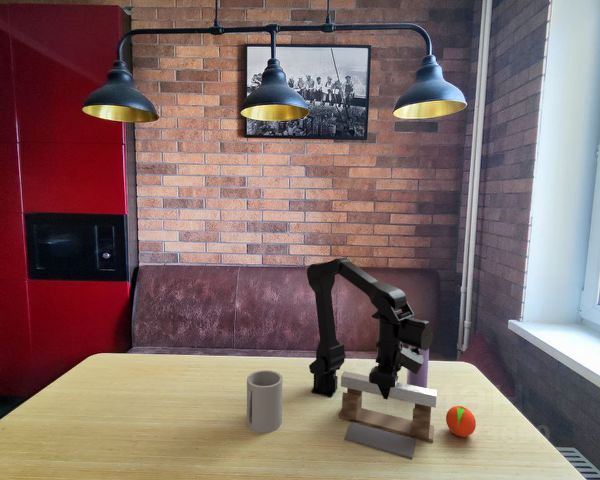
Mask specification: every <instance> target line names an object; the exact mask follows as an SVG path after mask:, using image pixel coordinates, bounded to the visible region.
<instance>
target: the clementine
mask: <svg viewBox="0 0 600 480" xmlns="http://www.w3.org/2000/svg"><path fill="white" fill-rule="evenodd" d="M445 421H446V422H445V423H446V425H447V427H448V429H449V430H450V431H451V432H452V433H453V434H455V435H456V436H458V437H461V438H462V437H464V438H465V437H469V436H470V435H473V433H474V431H475V430H476V428H477V425H476V422H477V421H476V418H475V416H474V414H473V412H472V411H471V410H469V409H468V408H467V407H465V406H463V405H455V406H452V407H450V409H448V411H447V412H446V415H445Z"/></svg>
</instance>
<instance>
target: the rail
mask: <svg viewBox="0 0 600 480" xmlns="http://www.w3.org/2000/svg"><path fill="white" fill-rule="evenodd" d="M340 387H341V388H346V389H347V388H350V389H354V390H359V391H362V393H363V392H365V393H369V394H373V395H377V396H381V397H382V394H381V392H380V389H379V387H378V385H377V384H373V383H370V382H369V375H365V374H360V373H355V372H350V371H346V370H345V371H343V372H342V373H341V375H340ZM437 392H438V390H436V389H431V388H428V387H427V388H423V387H418V386H413V385H408V384H407V383H403V382H398V381H397V383H396V386H395V387H393V388H390V392H389V396H388V398H389V399H390V398H391V399H395V400H398V401H403V402H408V403H413V404H415V403H416V404H420V405H425V406H429V407H431V408H433V409H436V407H437V394H438V393H437Z"/></svg>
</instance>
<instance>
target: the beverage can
mask: <svg viewBox="0 0 600 480" xmlns="http://www.w3.org/2000/svg"><path fill="white" fill-rule="evenodd" d="M408 348H409V350H410V349H411V348H412V346H409V345H408ZM429 354H430V348H429V349H428V350H426V351H424V350H421V349H420V355H423V358H424V361H423V364H422V366H421V368H420V370H419V372H418V374H414V373H412V371H410V370H408V369H406V371H407V372H406V384H408V385H413V386H418V387H423V388H427V389H428V374H429V373H428V371H429V357H430V355H429Z"/></svg>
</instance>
